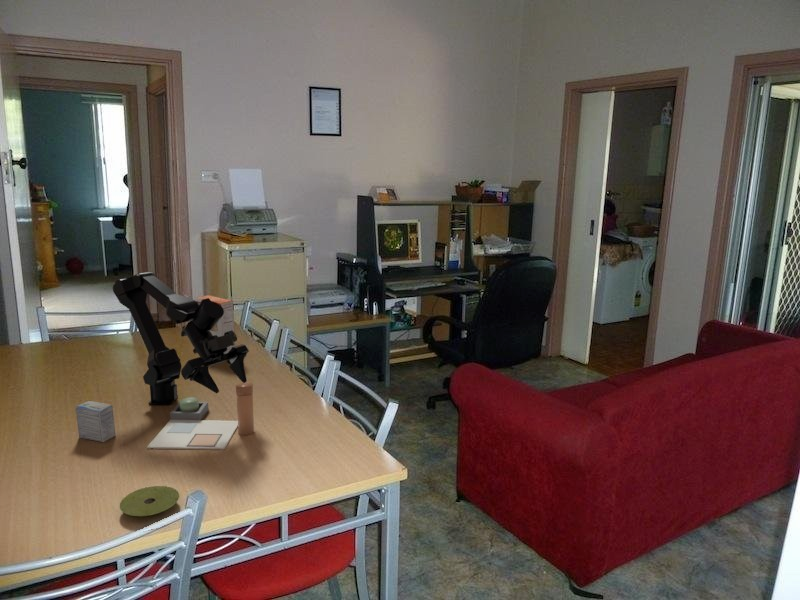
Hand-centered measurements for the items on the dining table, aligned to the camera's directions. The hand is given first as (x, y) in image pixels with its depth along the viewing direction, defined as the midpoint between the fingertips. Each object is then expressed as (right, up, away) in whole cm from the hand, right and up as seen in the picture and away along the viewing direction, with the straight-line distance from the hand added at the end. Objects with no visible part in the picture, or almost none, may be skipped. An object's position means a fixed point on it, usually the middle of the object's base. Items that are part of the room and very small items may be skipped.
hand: (232, 387), depth 158 cm
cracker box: (-23, +3, +63) cm, 67 cm away
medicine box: (-33, -12, -5) cm, 36 cm away
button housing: (-14, -9, +9) cm, 19 cm away
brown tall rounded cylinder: (+4, -12, 0) cm, 12 cm away
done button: (-14, -8, +9) cm, 19 cm away
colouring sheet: (-9, -12, -2) cm, 15 cm away
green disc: (-7, -20, -35) cm, 41 cm away
